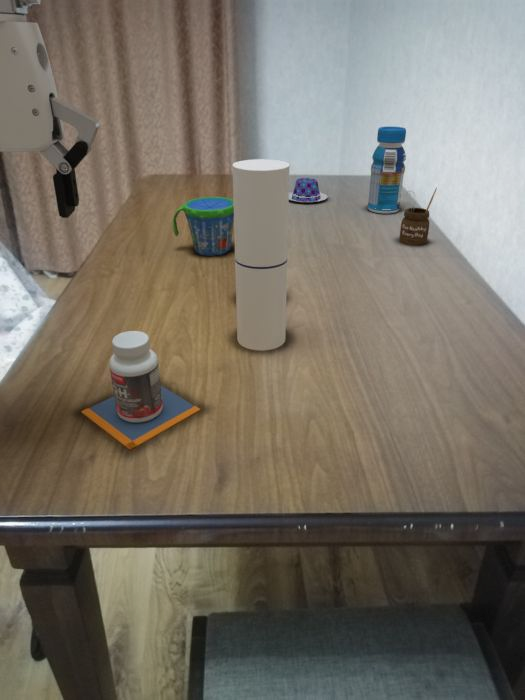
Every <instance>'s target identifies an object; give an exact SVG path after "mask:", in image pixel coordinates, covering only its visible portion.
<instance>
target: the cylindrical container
mask: <svg viewBox="0 0 525 700" xmlns="http://www.w3.org/2000/svg"><path fill="white" fill-rule="evenodd" d="M289 193H290V163H289V162H286V161H283V160H279V159H268V158H253V159H252V158H251V159H246V160H245V159H243V160H238V161H236V162H233V163H232V196H233V198H232V200H233V202H234V221H233V232H234V233H233V234H234V238H233V239H234V265H235V266H234V268H235V269H234V270H235V271H234V272H235V303H236V304H235V306H236V307H235V308H236V309H235V310H236V337H237V338H236V340H237V343H238V344H239V345H240V346H242V347H243V348H245V349H248V350H251V351H252V350H253V351H270V350H275V349H278V348H279V347H281V346H282V345H284V343H285V342H286V335H287V333H286V331H287V295H288V294H287V293H288V292H287V290H288V288H287V287H288V253H289V251H288V250H289V249H288V248H289V247H288V245H289V206H290V204H289V203H290V202H289V201H290V200H289Z"/></svg>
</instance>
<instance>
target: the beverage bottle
mask: <svg viewBox="0 0 525 700" xmlns="http://www.w3.org/2000/svg"><path fill="white" fill-rule="evenodd" d="M376 135H377V137H376V142H377V143H378V145H377V147H376V148H375V149H374V151H373V154H372V157H371V158H372V163H371V166H370V178H369V179H370V180H369V191H368V201H367V209H368V210H369V211H370V212H372V213H376V214H383V215H384V214H395V213H398V212H399V211H400V207H401V198H402V189H403V183H404V174H405V171H406V166H405V161H406V160H407V154H406V150H405V149H404V146H403V144H405V141H406V136H407V129H406V127H402V126H379V128H378V129H377V134H376ZM368 205H369V206H370V207H369V206H368ZM375 208H376V209H375ZM396 208H397V209H396ZM382 209H391V210H382Z"/></svg>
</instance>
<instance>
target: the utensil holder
mask: <svg viewBox="0 0 525 700" xmlns="http://www.w3.org/2000/svg"><path fill="white" fill-rule="evenodd" d="M437 189H438V187H437V186H436V187H435V189H434V192H433V194H432V196H431V198H430V200H429V203H428V205H427V207H426V208H422V207H416V202H413V206H412V207H408V206H409V204H408V203H406V204H404V205H405V207H406V209H405V210H404V211H403V212H404V213H403V216H404V217H403V218H402V220H401V223H400V229H399V230H400V231H399V242H400V243H401V244H403V245H406V246H411V247H420V246H424V245H426V243H427V241H428V237H429V230H430V220H429V217H430V211H429V208H430V207H431V204H432V202H433V200H434V197H435V195H436V192H437ZM408 192H409V194H408ZM407 194H408V196H409V197H408V198H409V200H408V201H411V196H413V197H412V198H413V199H416V197H417V196H416V194H415V191H412V192H411V190H408V191H406V192H405V193H404V195H407ZM412 194H414V195H412Z"/></svg>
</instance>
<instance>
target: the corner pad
mask: <svg viewBox="0 0 525 700" xmlns="http://www.w3.org/2000/svg"><path fill="white" fill-rule="evenodd" d="M161 392H162V402H163V408H162V411H161V413H160V414H159V415H158V416H156V417H155V418H153V419H151V420H149V421H145V422H139V423H133V422H128V421H125V420H123V419H122V418H120V417H119V415H118V413H117V409H116V403H115V396H114V395H113V396H111V397H109V398H107V399H105V400H103V401H101V402H98V403H96V404H95V405H93V406H90V407H88V408H85V409H83V410H81V414H82V415H84V416H85V417H86V418H87V419H88V420H90V421H91V422H92V423H94V424H95V425H96V426H98V428H100V429H101V430H102V431H104V432H105V433H107V434H108V435H109V436H110V437H112V438H113V439H114V440H116V441H117V442H118V443H120V445H122V446H123V447H125V448H126V449H127V450H129V451H130V452H131V451H133V450H134V449H137V448H138V447H140V446H142V445H143V444H145V443H147V442H149V441H150V440H152V439H154V438H155V437H157V436H159V435H161V434H163V433H164V432H166V431H167V430H169V429H171V428H173V427H175V426H176V425H178V424H180V423H181V422H184V421H185V420H187V419H189V418H190V417H192V416H194V415H195V414H197V413H199V412H200V411H202V410H201V408H199V407H197V406H196V405H194V404H192V403H190V402H189V401H188V400H186V399H184V398H182V397H181V396H179V395H177V394H176V393H174V392H172V391H171V390H169V389H168V388H166V387H164V386H163V385H161Z"/></svg>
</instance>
